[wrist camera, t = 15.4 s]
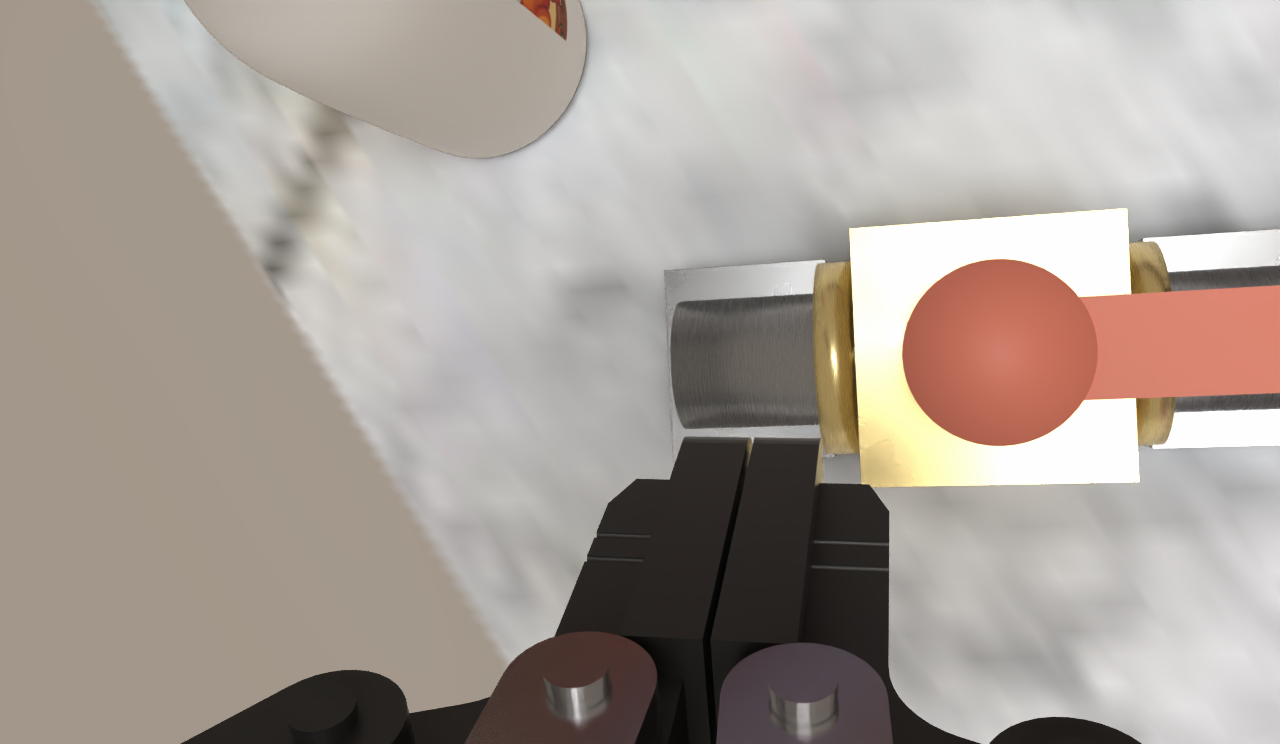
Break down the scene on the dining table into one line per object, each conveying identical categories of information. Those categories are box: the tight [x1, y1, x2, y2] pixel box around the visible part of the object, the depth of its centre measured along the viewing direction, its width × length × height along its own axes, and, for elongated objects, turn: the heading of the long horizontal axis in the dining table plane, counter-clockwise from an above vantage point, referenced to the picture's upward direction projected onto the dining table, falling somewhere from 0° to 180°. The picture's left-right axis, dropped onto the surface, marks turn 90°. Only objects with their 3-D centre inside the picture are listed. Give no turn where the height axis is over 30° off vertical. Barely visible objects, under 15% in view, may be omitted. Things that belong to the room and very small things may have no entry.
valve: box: [664, 208, 1280, 487], centre depth 33 cm, size 19×7×9 cm, turn 92°
